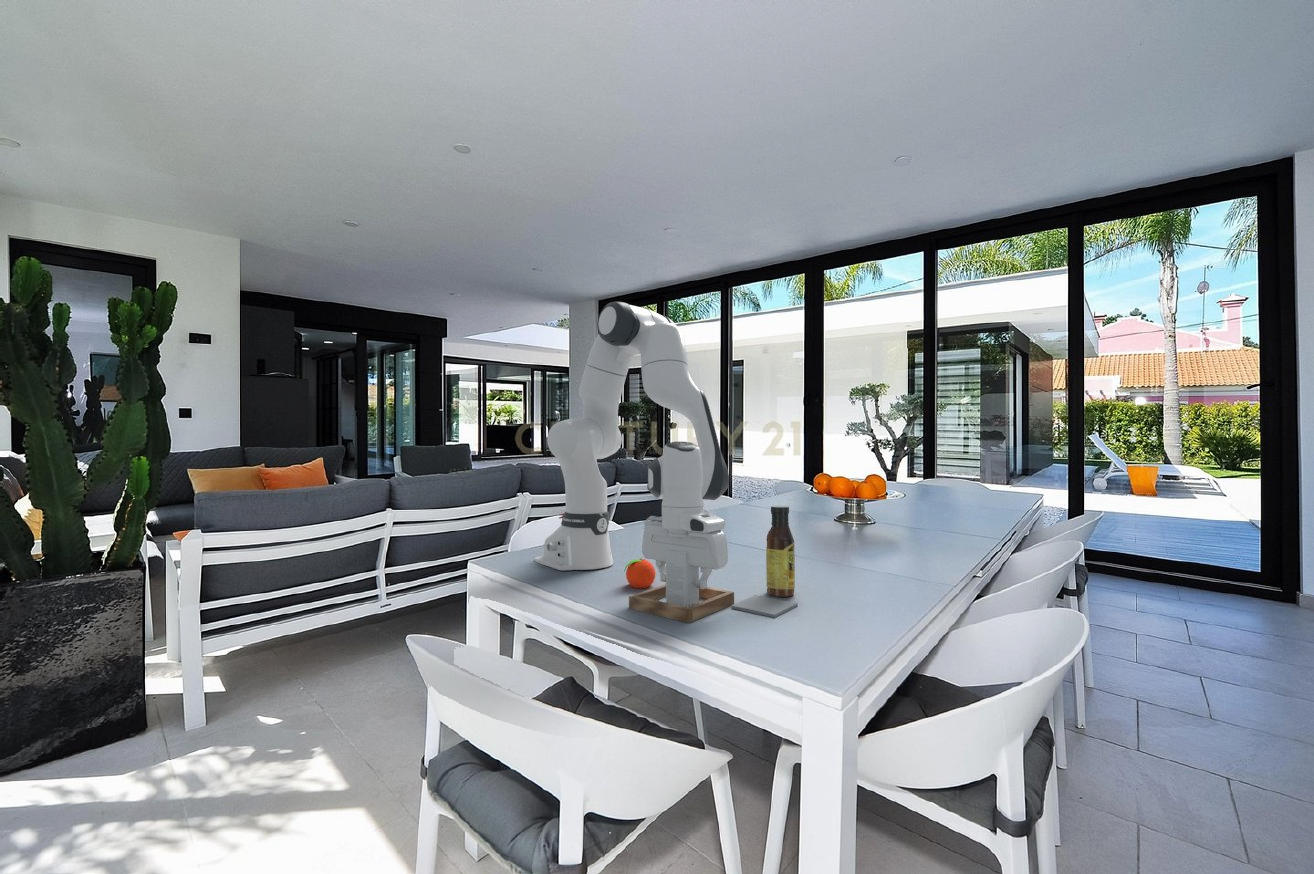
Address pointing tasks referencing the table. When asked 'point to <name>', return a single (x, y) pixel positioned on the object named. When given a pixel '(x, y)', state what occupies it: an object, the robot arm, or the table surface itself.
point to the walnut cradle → (685, 614)
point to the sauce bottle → (780, 555)
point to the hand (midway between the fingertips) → (683, 584)
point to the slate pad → (764, 606)
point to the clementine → (640, 573)
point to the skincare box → (681, 579)
